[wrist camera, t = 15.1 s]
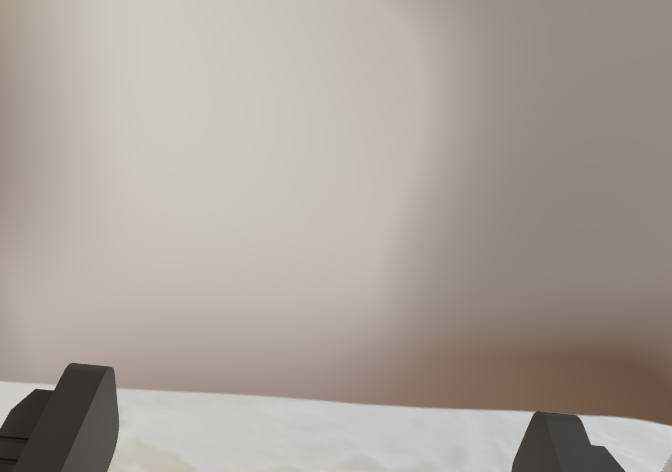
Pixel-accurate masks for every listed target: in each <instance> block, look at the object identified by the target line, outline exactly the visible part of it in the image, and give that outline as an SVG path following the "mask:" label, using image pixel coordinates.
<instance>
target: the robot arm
mask: <svg viewBox="0 0 672 472" xmlns="http://www.w3.org/2000/svg"><path fill="white" fill-rule="evenodd" d="M118 431H119V415H118V405H117V394H116V384H115V374H114V369H113V368H112V367H107V366H97V365H87V364H77V363H71V364H69V365H68V366H67V368H66V369H65V371H64V373H63V375H62V376H61V378H60V380H59V382H58V384H57V386H56V388H55V390H54V391H51V390H41V389H35V390H34V391H33V392H31V393H30V394H29V395H28V396H27V397H26V398H24V399H23V400H22V401H21V402H20V403H19V404H17V405H16V406H15V407H14V408H13V409H12V410H11V411H10V413H9V415H8V416H7V418H6V420H5V421H4V423H3V425H2V427H1V428H0V472H107V471H108V468H109V465H110V463H111V460H112V457H113V454H114V451H115V447H116V443H117V438H118ZM512 472H625V471H624V469H623V468H622V467H621V466H620V465H619V463H618V462H617V461H616V460H615V459H614V458H613V456H612V455H611V454H610V453H609V452H608V450H607V449H606V448H605V447H603V446H593V445H591V444H590V441H589V439H588V436H587V433H586V431H585V428H584V426H583V423H582V421H581V420H580V418H579V417H578V416H576V415H569V414H559V413H549V412H539V411H538V412H536V413H534V415H533V416H532V419H531V421H530V423H529V426H528V428H527V430H526V433H525V435H524V437H523V440H522V442H521V445H520V447H519V449H518V452H517V454H516V456H515V459H514V462H513V465H512ZM661 472H672V455H671V456H670V458H669V459H668V461H667V463H666V464H665V466H664V467H663V469H662V471H661Z"/></svg>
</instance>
